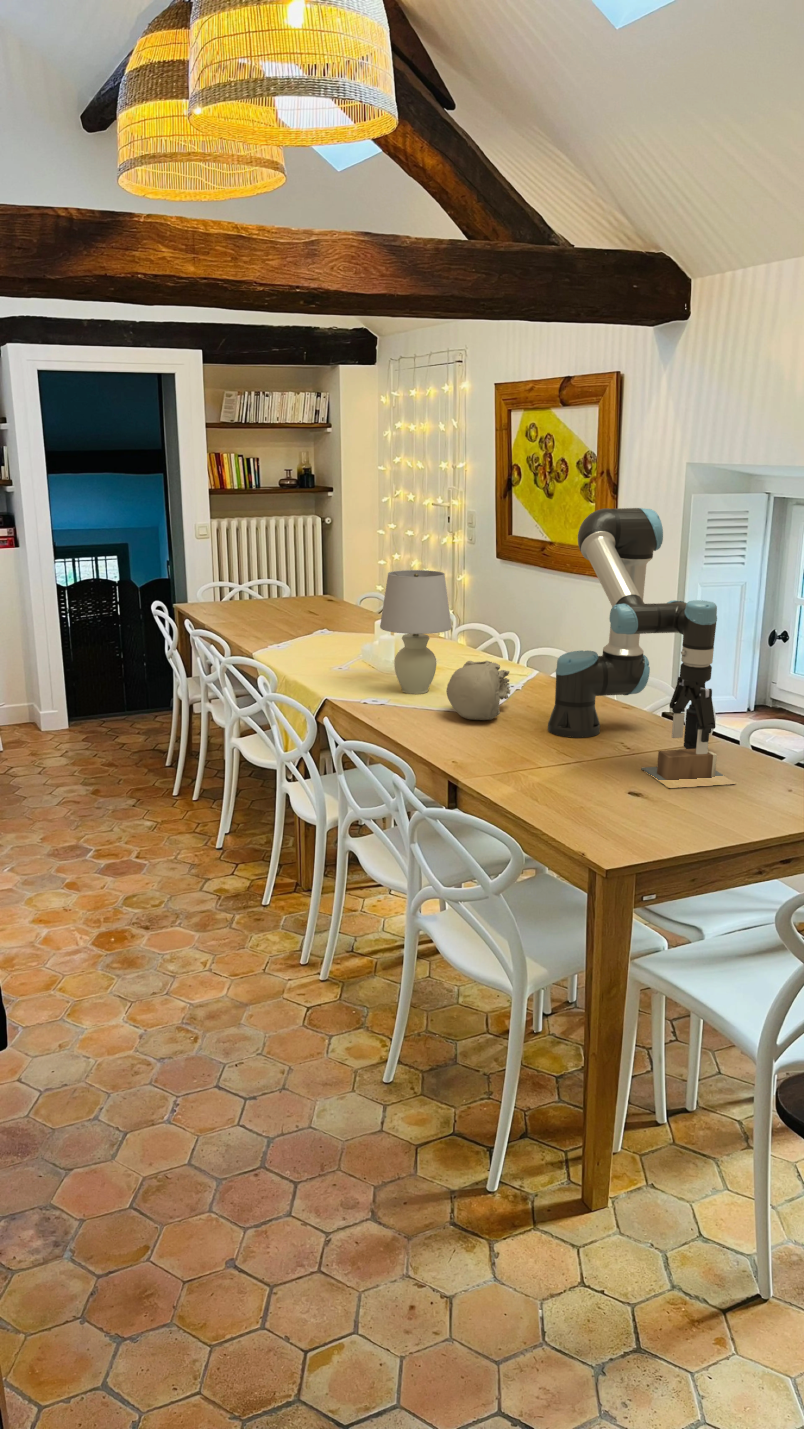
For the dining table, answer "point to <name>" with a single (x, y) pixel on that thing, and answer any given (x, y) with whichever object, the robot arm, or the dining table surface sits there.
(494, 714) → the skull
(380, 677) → the dining table surface
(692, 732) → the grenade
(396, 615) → the lamp
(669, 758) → the block
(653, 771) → the mat
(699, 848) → the dining table surface
